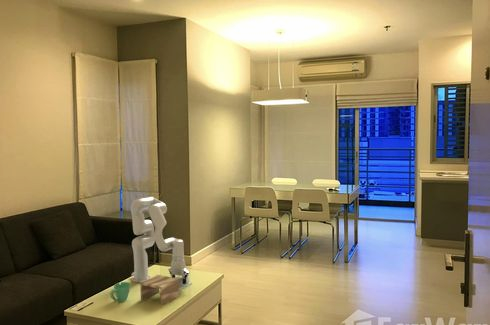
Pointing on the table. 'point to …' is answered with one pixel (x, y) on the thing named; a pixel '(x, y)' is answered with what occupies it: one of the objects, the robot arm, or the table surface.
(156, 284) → the wooden bridge
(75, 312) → the table surface
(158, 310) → the table surface
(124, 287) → the mug
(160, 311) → the table surface
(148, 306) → the table surface
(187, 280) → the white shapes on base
